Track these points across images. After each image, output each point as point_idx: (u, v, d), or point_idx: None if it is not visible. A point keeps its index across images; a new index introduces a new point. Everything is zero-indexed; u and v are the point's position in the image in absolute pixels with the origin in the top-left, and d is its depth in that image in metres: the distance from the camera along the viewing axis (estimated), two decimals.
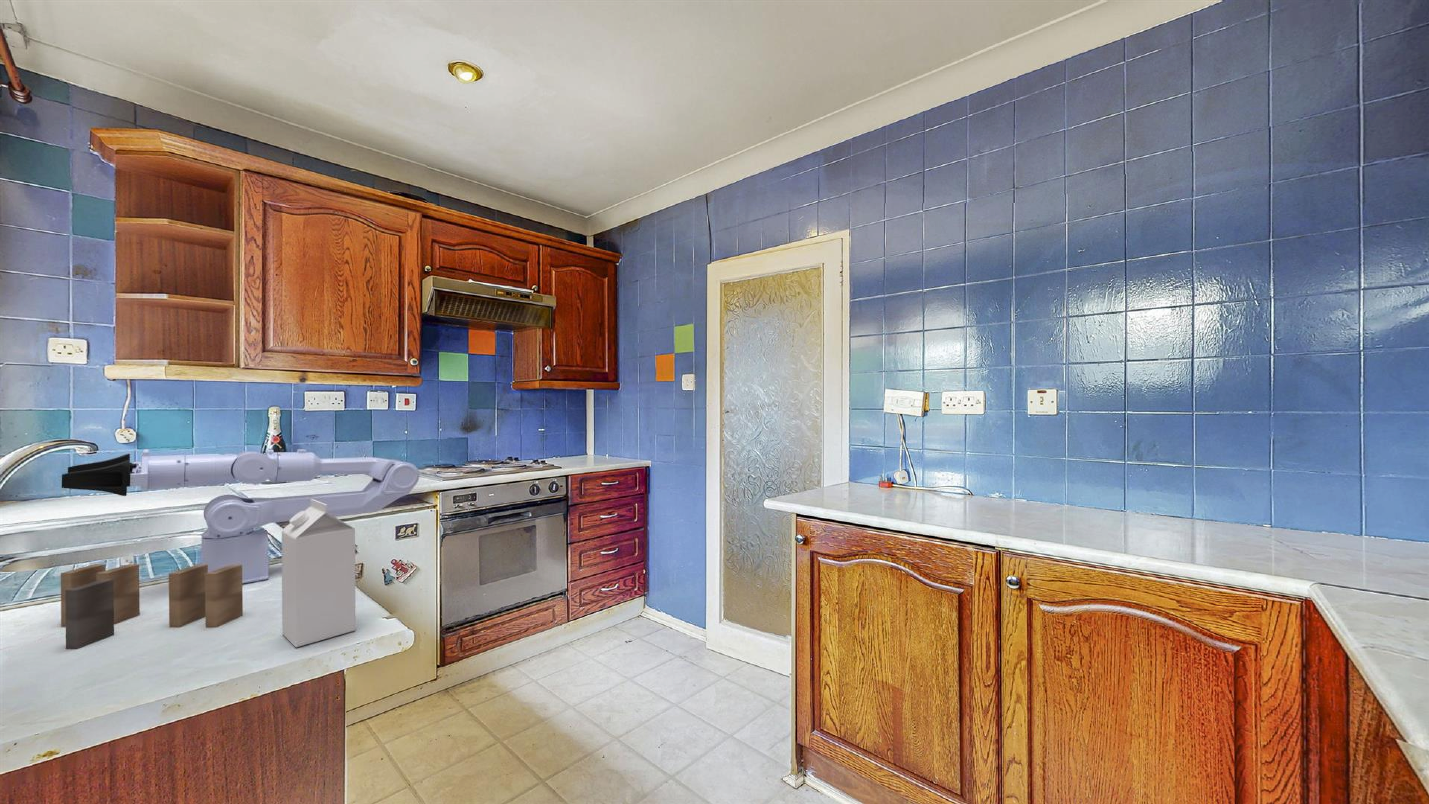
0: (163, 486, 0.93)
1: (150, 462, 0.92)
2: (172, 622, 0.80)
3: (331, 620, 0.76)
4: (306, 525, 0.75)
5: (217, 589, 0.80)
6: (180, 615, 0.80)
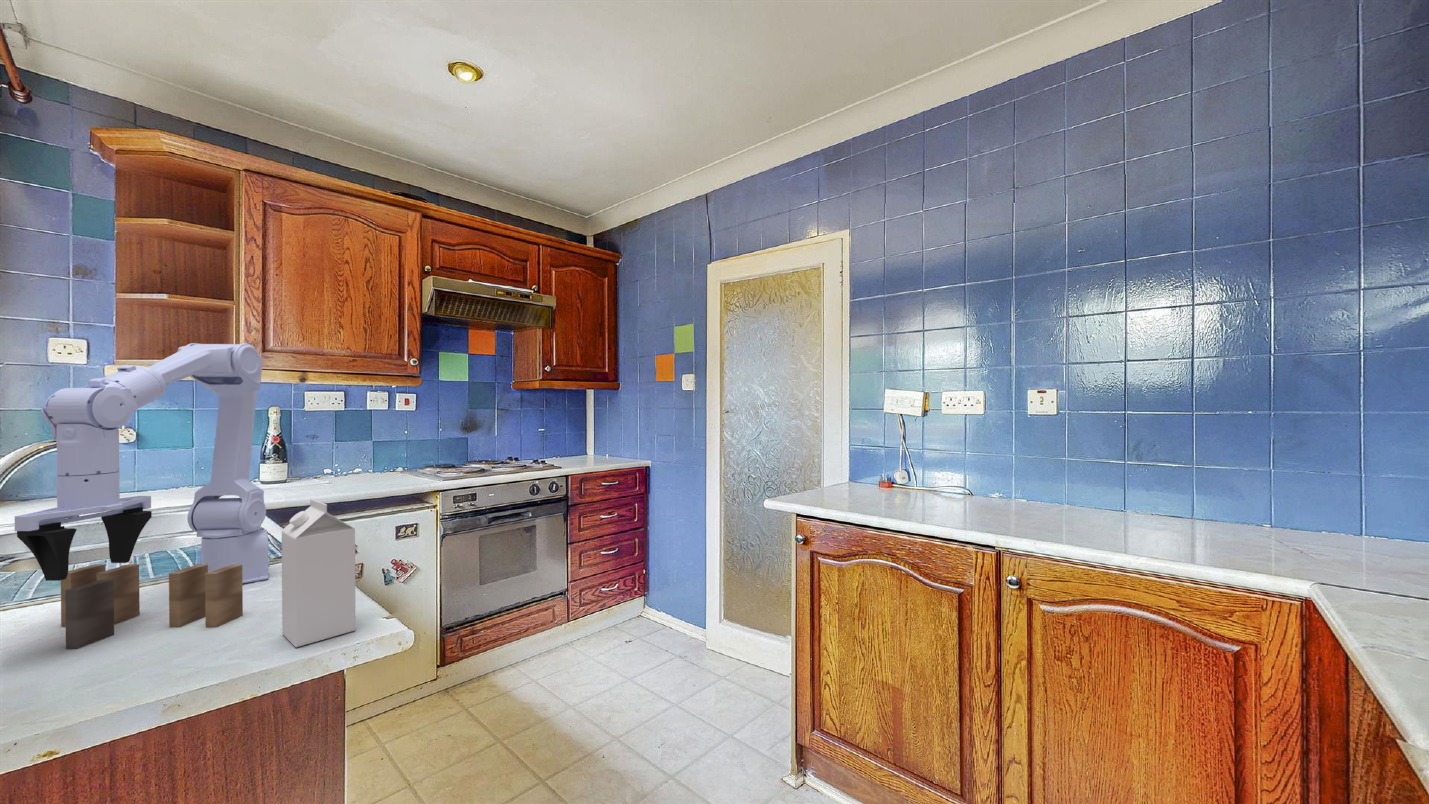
0: None
1: (119, 500, 0.77)
2: (172, 622, 0.80)
3: (331, 620, 0.76)
4: (306, 525, 0.75)
5: (217, 589, 0.80)
6: (180, 615, 0.80)
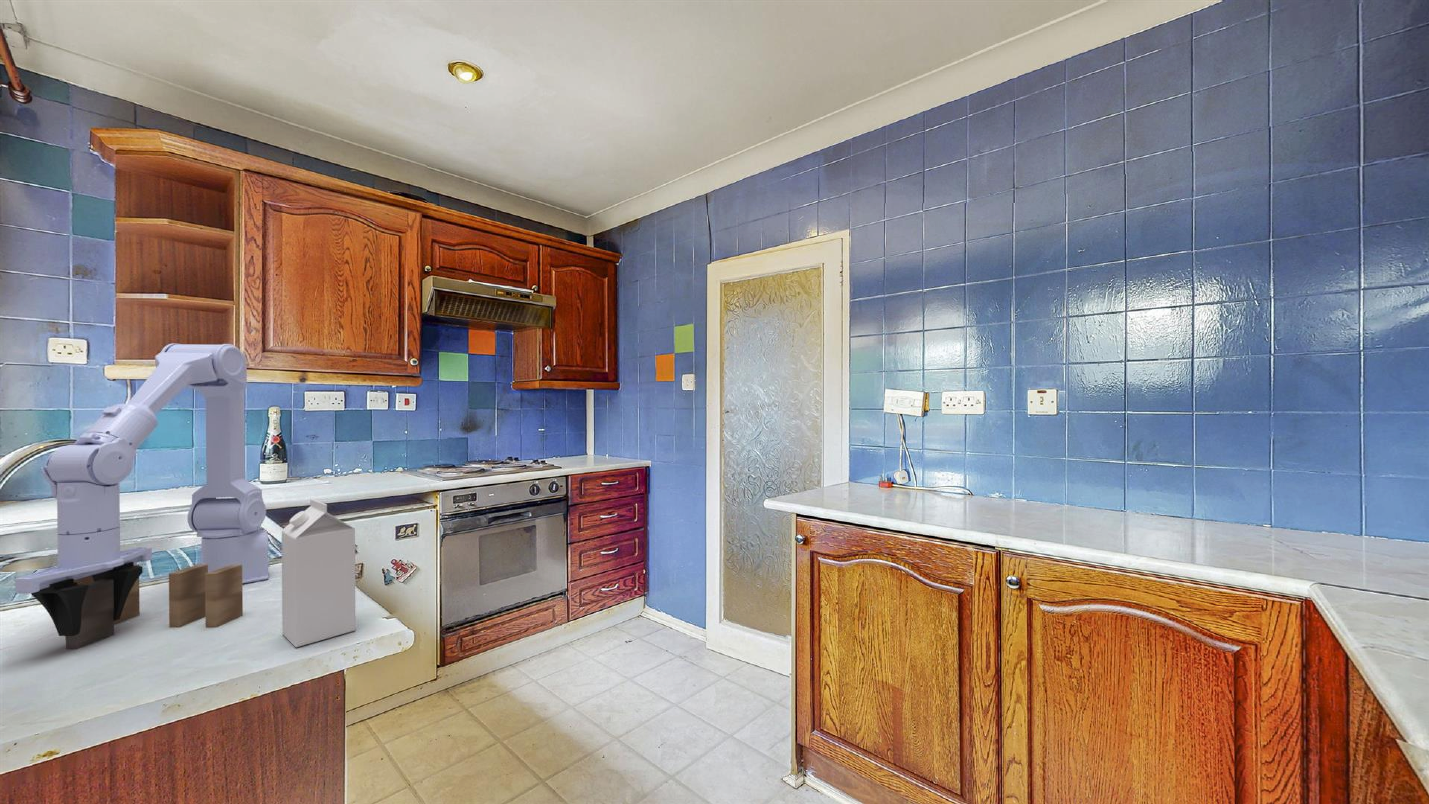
0: None
1: (119, 555, 0.77)
2: (172, 622, 0.80)
3: (331, 620, 0.76)
4: (306, 525, 0.75)
5: (217, 589, 0.80)
6: (180, 615, 0.80)
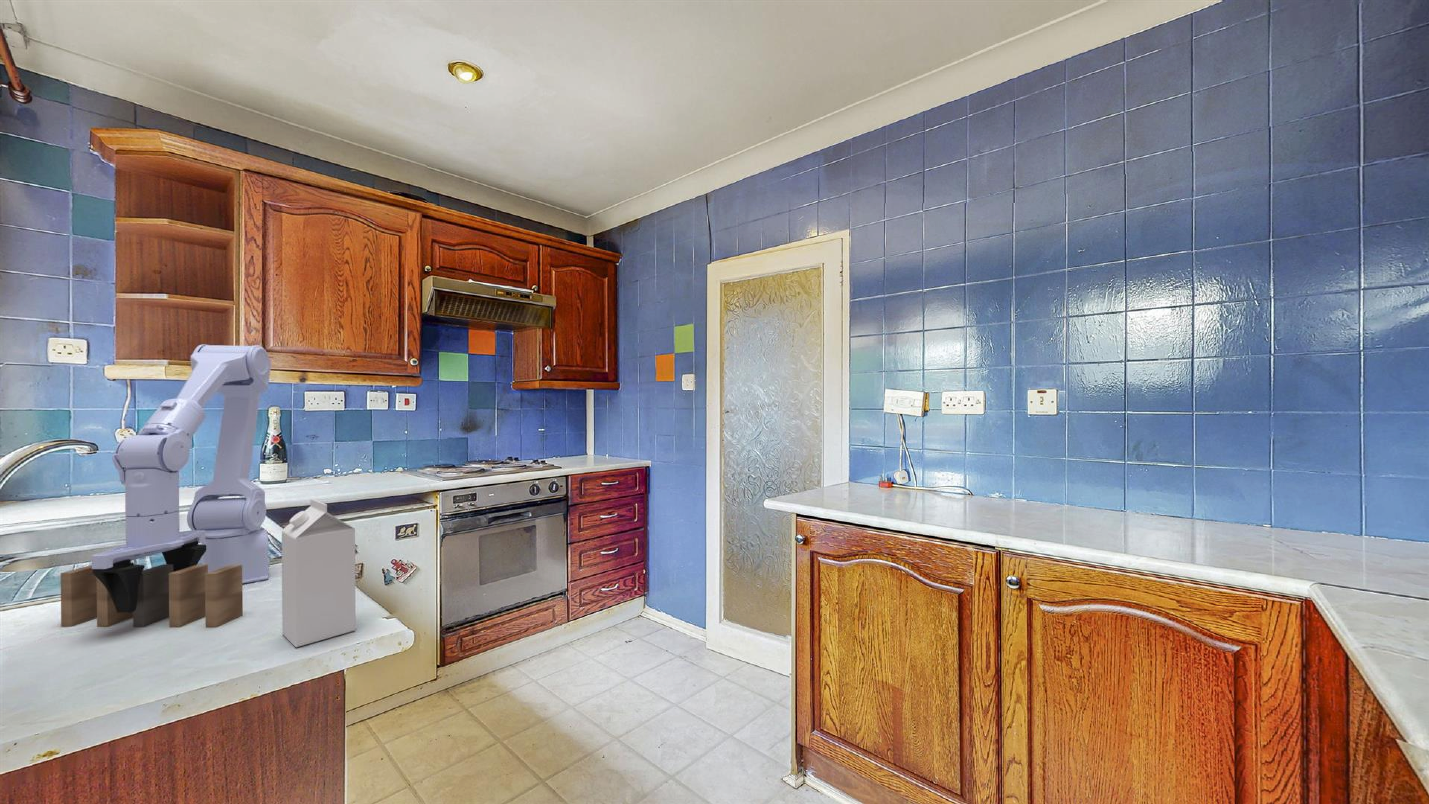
0: None
1: (179, 536, 0.84)
2: (172, 622, 0.80)
3: (331, 620, 0.76)
4: (306, 525, 0.75)
5: (217, 589, 0.80)
6: (180, 615, 0.80)
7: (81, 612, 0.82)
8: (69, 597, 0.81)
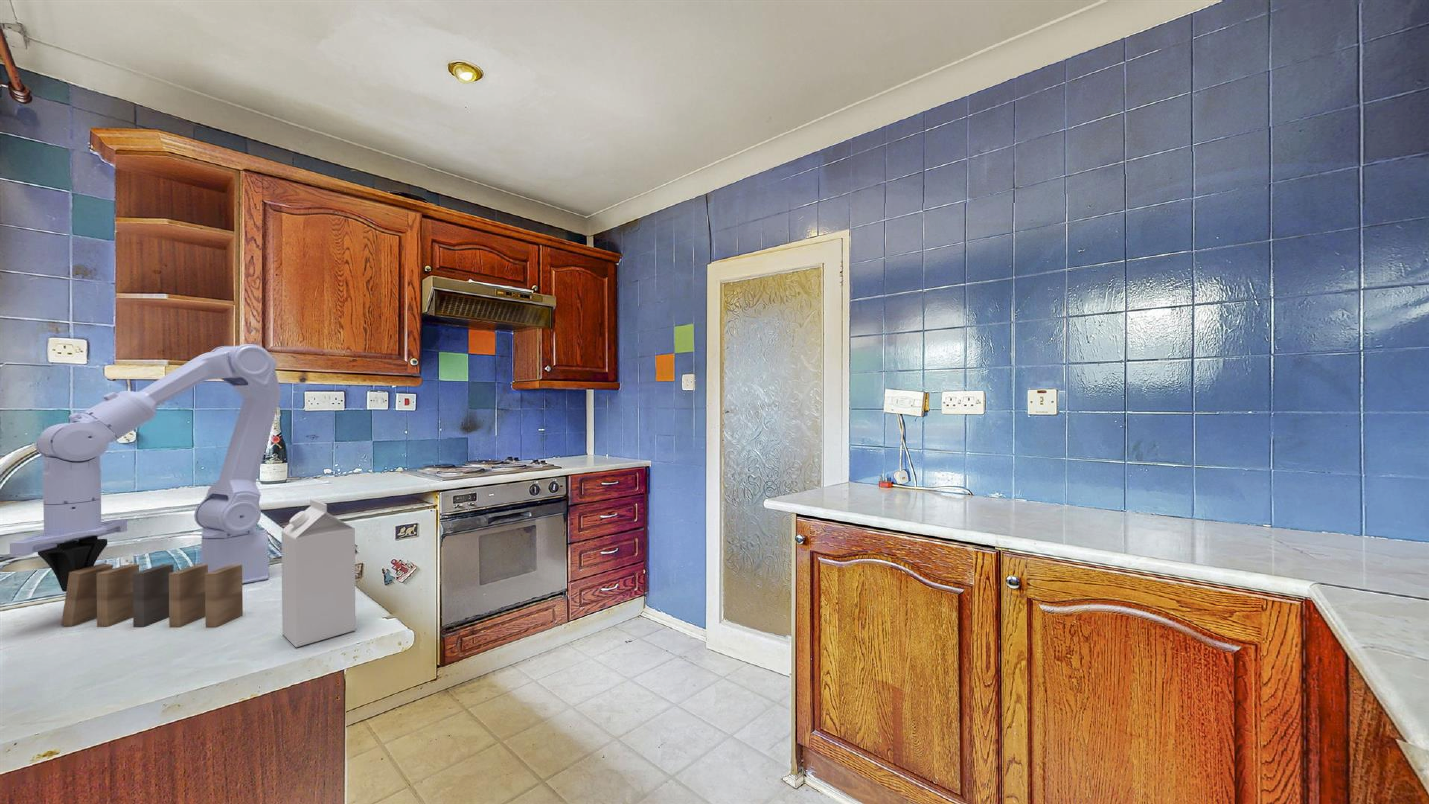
0: None
1: (101, 524, 0.85)
2: (172, 622, 0.80)
3: (331, 620, 0.76)
4: (306, 525, 0.75)
5: (217, 589, 0.80)
6: (180, 615, 0.80)
7: (83, 612, 0.82)
8: (74, 597, 0.81)
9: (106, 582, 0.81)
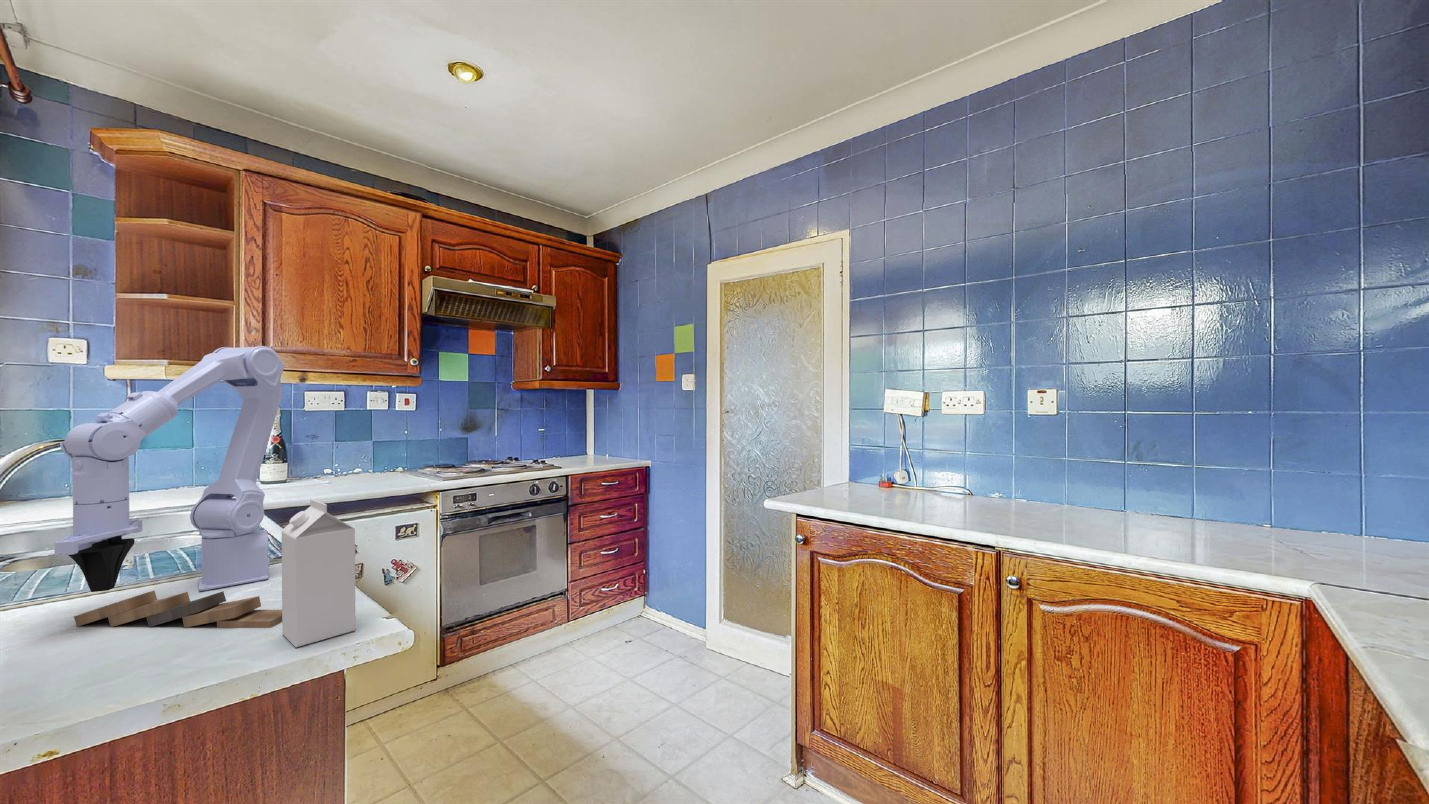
0: None
1: None
2: (187, 619, 0.80)
3: (331, 620, 0.76)
4: (306, 525, 0.75)
5: None
6: (195, 625, 0.80)
7: None
8: (103, 615, 0.81)
9: (152, 614, 0.80)
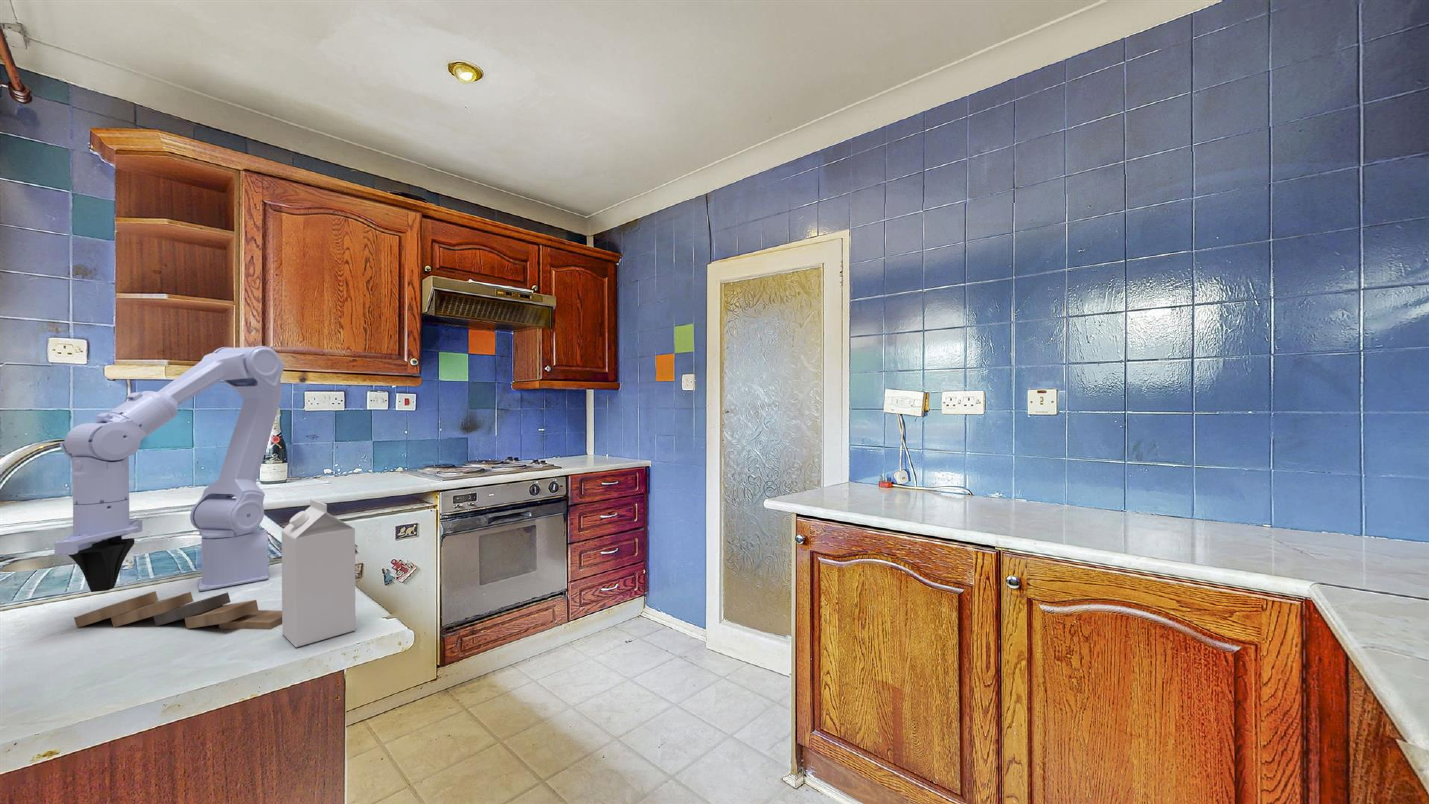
0: None
1: None
2: (188, 621, 0.80)
3: (331, 620, 0.76)
4: (306, 525, 0.75)
5: None
6: None
7: None
8: (104, 616, 0.80)
9: (155, 614, 0.80)
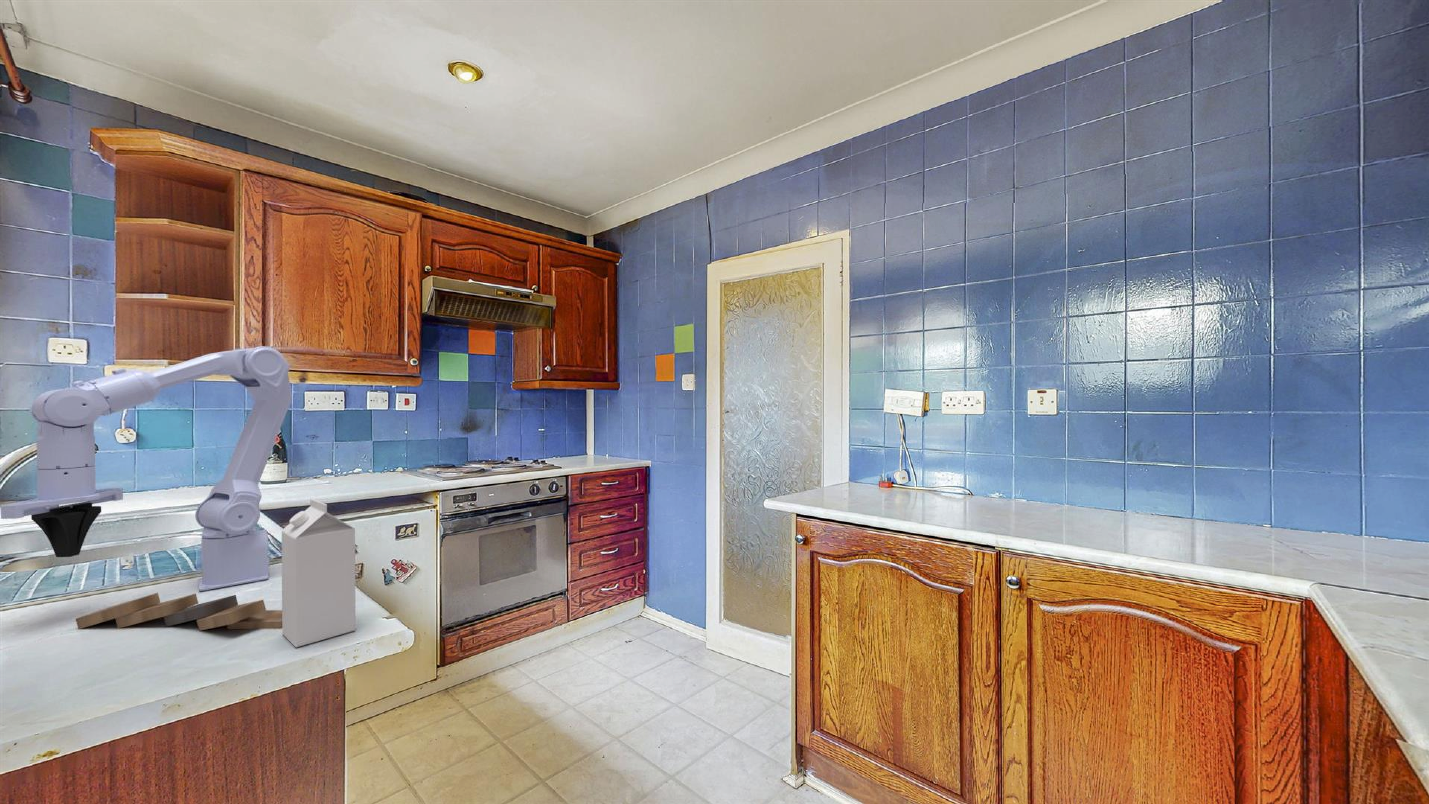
0: None
1: (95, 491, 0.85)
2: (200, 623, 0.79)
3: (331, 620, 0.76)
4: (306, 525, 0.75)
5: None
6: None
7: None
8: (106, 618, 0.80)
9: (161, 616, 0.80)
